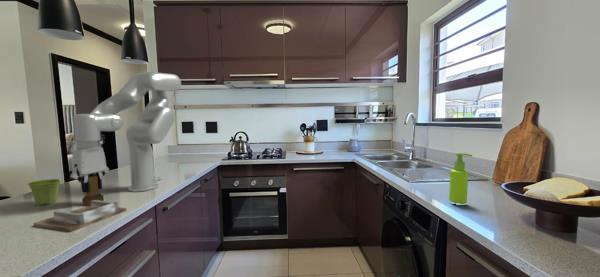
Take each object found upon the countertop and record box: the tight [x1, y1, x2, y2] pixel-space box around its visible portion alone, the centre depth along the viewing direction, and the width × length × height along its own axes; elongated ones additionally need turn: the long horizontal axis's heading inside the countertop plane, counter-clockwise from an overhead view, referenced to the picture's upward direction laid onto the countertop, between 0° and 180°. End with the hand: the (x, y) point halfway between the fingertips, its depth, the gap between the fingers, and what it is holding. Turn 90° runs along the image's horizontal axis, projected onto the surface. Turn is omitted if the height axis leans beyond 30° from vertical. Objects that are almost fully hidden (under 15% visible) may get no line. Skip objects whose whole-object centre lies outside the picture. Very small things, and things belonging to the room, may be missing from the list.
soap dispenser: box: [448, 152, 473, 204], centre depth 98 cm, size 6×7×20 cm
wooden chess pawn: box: [81, 173, 105, 207], centre depth 100 cm, size 7×6×18 cm
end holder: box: [33, 200, 127, 233], centre depth 86 cm, size 18×16×4 cm
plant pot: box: [27, 178, 62, 206], centre depth 101 cm, size 9×9×9 cm
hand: (92, 189), depth 101 cm, fingers closed on wooden chess pawn, 3 cm apart
